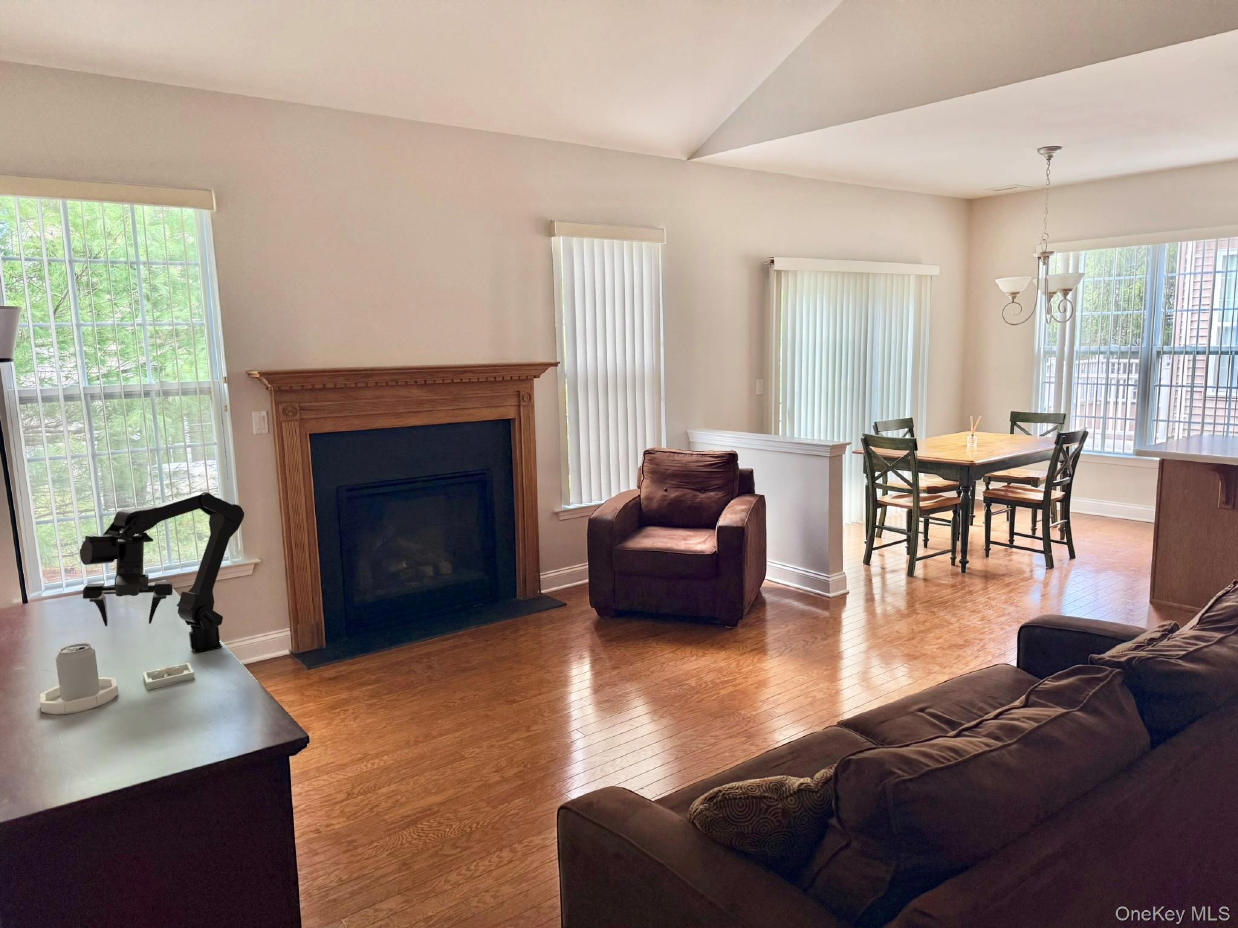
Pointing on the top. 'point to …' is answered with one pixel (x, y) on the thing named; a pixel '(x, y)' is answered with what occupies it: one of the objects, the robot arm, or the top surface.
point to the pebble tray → (168, 677)
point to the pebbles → (167, 672)
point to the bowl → (56, 705)
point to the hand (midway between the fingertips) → (128, 624)
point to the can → (77, 672)
